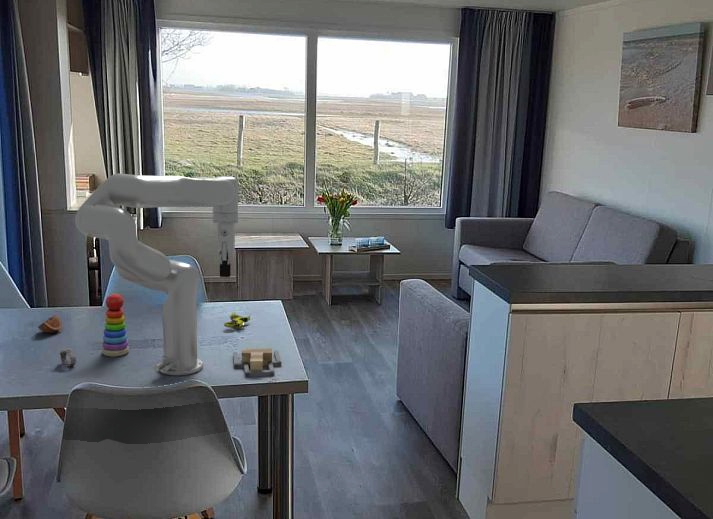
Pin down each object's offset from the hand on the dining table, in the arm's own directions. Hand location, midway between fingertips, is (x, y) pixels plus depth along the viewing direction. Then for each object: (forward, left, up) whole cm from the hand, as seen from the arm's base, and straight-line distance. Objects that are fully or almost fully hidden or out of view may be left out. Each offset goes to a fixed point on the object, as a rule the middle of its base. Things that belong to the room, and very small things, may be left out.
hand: (225, 276), depth 213 cm
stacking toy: (-19, +28, -24) cm, 41 cm away
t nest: (-8, -17, -24) cm, 30 cm away
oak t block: (-9, -17, -24) cm, 30 cm away
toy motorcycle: (+21, +9, -24) cm, 33 cm away
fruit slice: (-14, +60, -24) cm, 66 cm away
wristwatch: (-32, +33, -24) cm, 52 cm away
